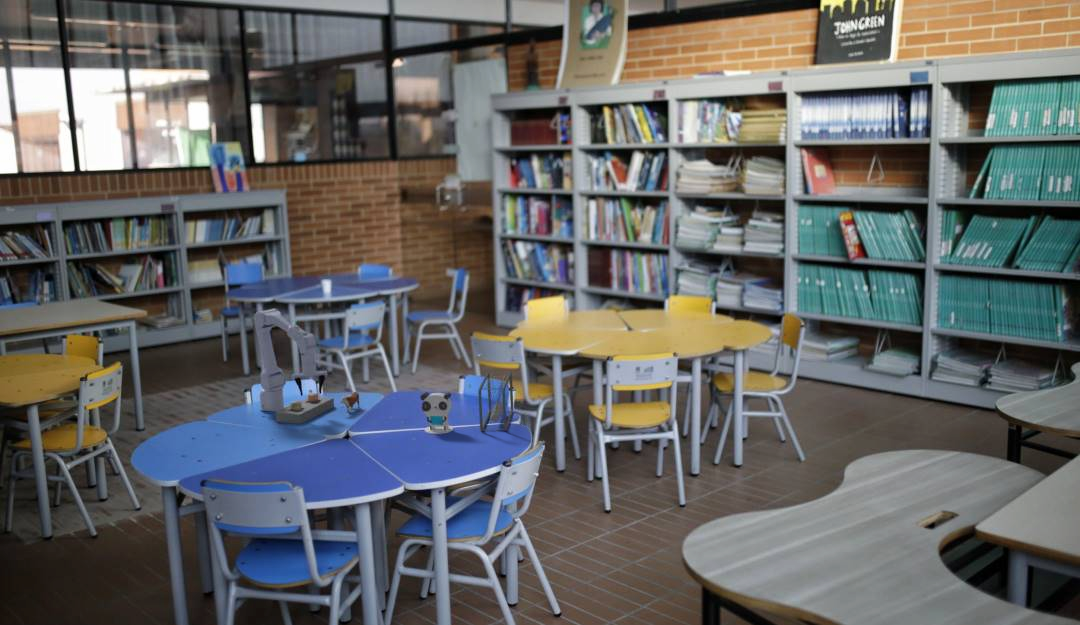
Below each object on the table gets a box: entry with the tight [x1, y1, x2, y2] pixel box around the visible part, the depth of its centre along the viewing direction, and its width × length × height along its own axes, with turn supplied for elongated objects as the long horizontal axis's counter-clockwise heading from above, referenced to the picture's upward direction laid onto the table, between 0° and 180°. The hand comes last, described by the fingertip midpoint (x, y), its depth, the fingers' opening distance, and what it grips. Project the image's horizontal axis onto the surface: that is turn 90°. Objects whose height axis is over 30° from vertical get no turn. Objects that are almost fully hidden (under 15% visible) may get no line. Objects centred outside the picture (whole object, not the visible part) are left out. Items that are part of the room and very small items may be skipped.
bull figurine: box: [339, 391, 360, 414], centre depth 414 cm, size 4×13×8 cm, turn 163°
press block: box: [275, 396, 335, 425], centre depth 412 cm, size 12×26×4 cm, turn 160°
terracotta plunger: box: [307, 392, 320, 403], centre depth 417 cm, size 4×4×4 cm
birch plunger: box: [290, 400, 302, 411], centre depth 405 cm, size 4×4×4 cm
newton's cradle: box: [477, 371, 514, 432], centre depth 390 cm, size 30×10×18 cm, turn 176°
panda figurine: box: [420, 391, 454, 435], centre depth 382 cm, size 12×11×15 cm
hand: (310, 394), depth 407 cm, fingers open, 7 cm apart
